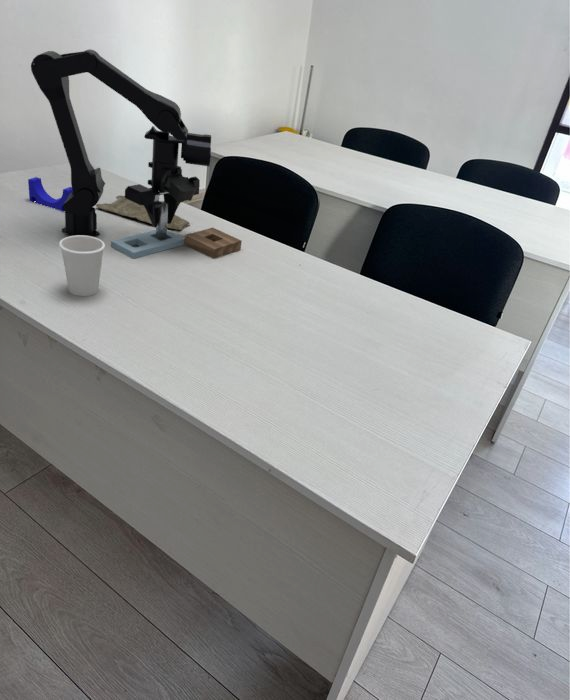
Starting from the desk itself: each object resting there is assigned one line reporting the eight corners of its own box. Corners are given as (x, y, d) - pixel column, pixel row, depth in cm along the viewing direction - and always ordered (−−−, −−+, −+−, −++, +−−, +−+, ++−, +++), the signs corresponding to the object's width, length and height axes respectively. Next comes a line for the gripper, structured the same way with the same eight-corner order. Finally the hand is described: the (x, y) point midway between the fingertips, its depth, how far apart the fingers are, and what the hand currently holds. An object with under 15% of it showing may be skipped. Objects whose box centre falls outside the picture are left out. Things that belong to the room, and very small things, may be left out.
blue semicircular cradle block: (79, 209, 154) (79, 186, 151) (68, 213, 150) (68, 190, 147) (41, 198, 156) (39, 175, 153) (29, 202, 153) (28, 179, 149)
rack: (133, 258, 133) (133, 252, 132) (111, 246, 137) (111, 240, 136) (184, 244, 145) (184, 238, 144) (162, 233, 148) (162, 228, 147)
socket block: (213, 258, 140) (214, 249, 139) (184, 244, 145) (184, 234, 143) (240, 249, 147) (241, 240, 146) (211, 236, 152) (212, 227, 151)
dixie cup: (59, 281, 119) (57, 235, 113) (101, 279, 122) (101, 234, 117) (63, 300, 112) (61, 252, 107) (108, 298, 116) (108, 251, 111)
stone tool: (93, 210, 155) (175, 236, 150) (93, 200, 154) (176, 225, 148) (118, 201, 164) (196, 225, 159) (118, 191, 163) (197, 215, 157)
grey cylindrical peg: (160, 245, 142) (162, 205, 137) (153, 241, 143) (155, 202, 138) (168, 242, 144) (170, 203, 139) (161, 239, 145) (163, 200, 140)
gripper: (158, 175, 123) (155, 244, 131) (218, 165, 136) (212, 228, 144) (123, 160, 128) (122, 227, 136) (185, 152, 141) (180, 214, 149)
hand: (161, 224), depth 141 cm, fingers open, 4 cm apart
